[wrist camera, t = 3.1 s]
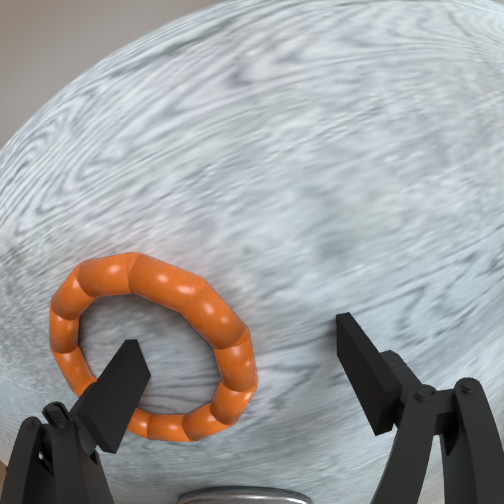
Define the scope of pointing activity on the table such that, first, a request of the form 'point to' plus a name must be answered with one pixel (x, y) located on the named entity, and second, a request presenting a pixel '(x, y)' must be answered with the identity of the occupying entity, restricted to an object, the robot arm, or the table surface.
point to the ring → (173, 297)
